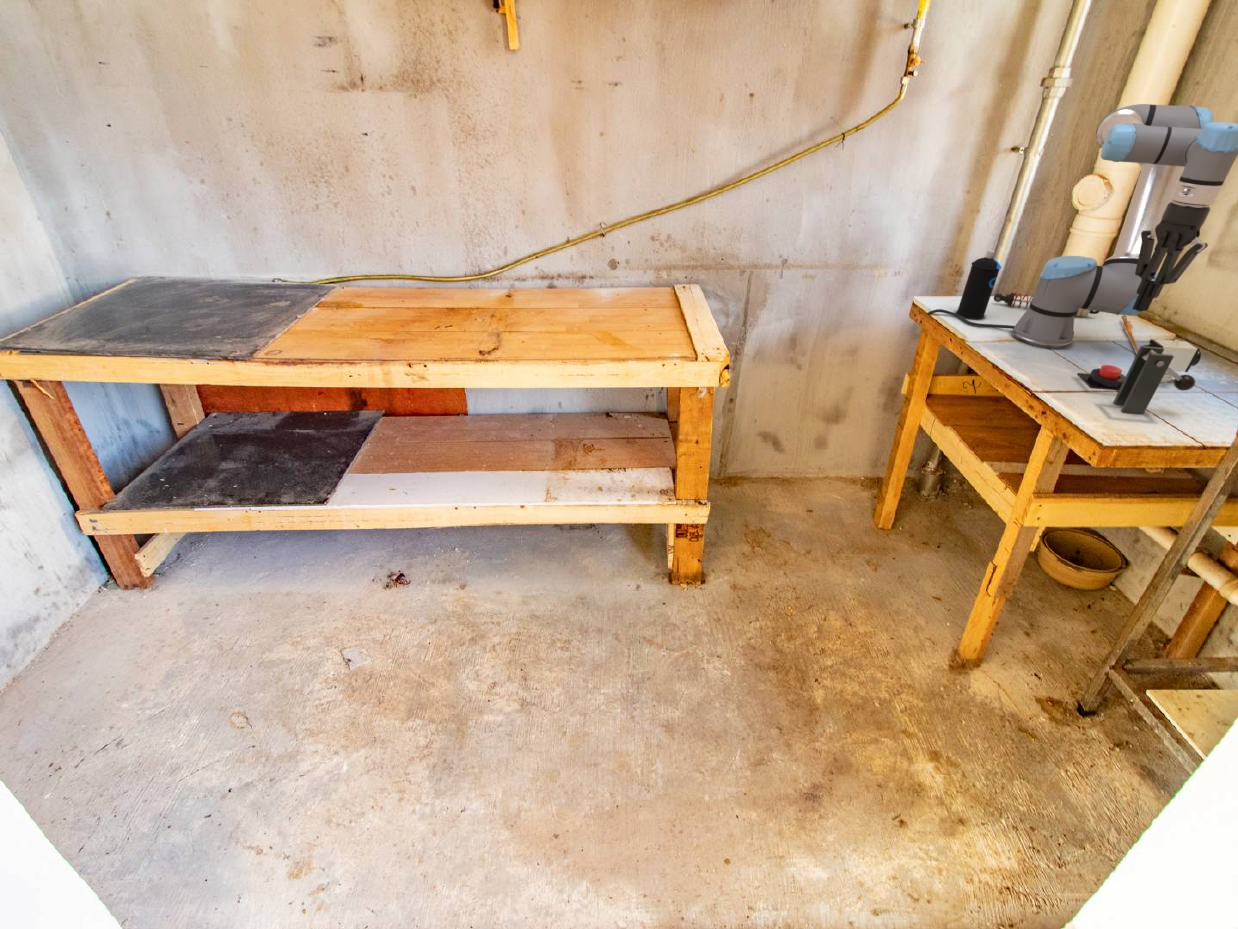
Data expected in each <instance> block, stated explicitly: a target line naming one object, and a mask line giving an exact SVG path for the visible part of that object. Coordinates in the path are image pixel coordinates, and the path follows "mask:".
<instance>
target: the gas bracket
mask: <svg viewBox="0 0 1238 929" xmlns="http://www.w3.org/2000/svg"><path fill="white" fill-rule="evenodd" d="M1138 349H1139V351H1138V353H1137V355H1136V354H1135V357H1134V359H1133V361H1132V363H1131V365H1130V367H1129V369H1128V371H1127V373H1126V375H1125V379H1124V381H1123V383H1122V385H1121V387H1120V389H1119V391H1118V390H1117V394H1116V396H1115V397H1114V400H1113V402H1112V404H1113V405H1114V406H1121V407H1122V408H1121V409H1120V412H1121V413H1122V414H1130V415H1141V416H1143V415H1145V412H1146V410H1147V408H1148V406H1149V405H1150V403H1151V400H1152V399H1153V397H1154V395H1155V393H1156V391H1157V390H1158V387H1159V385H1160V384H1161V383H1162V382H1161V380H1162V378H1163V376H1164V374H1165V372H1166V370H1167V369H1168V367H1169V365H1170V363H1171V361H1172V359H1173V357H1174V356H1172V355H1168V354H1162V353H1163V351H1164V349H1163V348H1161V347H1148V346H1144V345H1140V347H1139V348H1138ZM1151 349H1152V350H1153V351H1155V352H1156V353H1157V354H1155V353H1150V354H1149V356H1148V358H1147V360H1146V361H1145V360H1144V359H1143V358H1142V357H1143V356H1144V355H1145V354H1146V353H1148V352H1149V351H1150V350H1151Z"/></svg>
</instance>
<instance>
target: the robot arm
mask: <svg viewBox="0 0 1238 929" xmlns="http://www.w3.org/2000/svg"><path fill="white" fill-rule="evenodd" d="M1095 139H1096V141H1097V144H1098V145H1099V146H1100V147H1101V150H1100V159H1102V160H1103V161H1109V162H1110V161H1111V162H1114V163H1120V162H1121V163H1133V164H1138V165H1139V166H1140V167H1141V169H1140V173H1139V177H1138V180H1137V182H1136V186H1135V189H1134V191H1133V193H1132V194H1133V195H1132V197H1131V200H1130V203H1129V207H1128V210H1127V213H1126V215H1125V219H1124V222H1123V225H1122V228H1121V231H1120V234H1119V237H1118V240H1117V243H1116V245H1115V249H1114V252H1113V254H1112V256H1110V257H1108V258H1106V259H1105V260H1104V262H1103V264H1102V265H1098V261H1097V259H1095V258H1092V257H1086V256H1080V255H1063V256H1057V257H1053V258H1051V259H1049V260H1048V261H1047V262H1046V263H1045V265H1044V267H1043V270H1042V271H1041V273H1040V274H1039V280H1038V283H1037V285H1036V287H1035V290H1034V293H1033V294H1032V295H1033V297H1032V298H1031V300H1030V301H1031V303H1029V305H1028V307H1027V310H1026V311H1025V312H1024V313H1023V315H1022V316H1021V317H1020V318H1019V319H1018V321H1017V322H1016V324H1015V325H1009V324H993V323H979V322H974V321H970V320H969V319H967V318H964V317H963V316H961V315H959V314H956V312H953V311H950V310H946V309H942V308H938V309H933V310H930V311H929V312H927V315H933V314H935V313H943V314H947V315H950V316H953V317H956V318H958V319H960V320H961V321H962V322H964V323H965V324H967V325H970V326H973V327H981V328H995V329H996V328H997V329H1011V330H1012V331H1011V336H1013V337H1014V338H1015V339H1016V340H1018V341H1020V342H1022V343H1024V344H1027V345H1030V346H1035V347H1039V348H1043V349H1044V348H1045V349H1054V350H1055V349H1066V348H1068V347H1070V346H1071V344H1072V342H1073V339H1074V335H1075V331H1074V328H1075V326H1074V324H1075V317H1076V316H1075V314H1076V312H1077V310H1078V308H1081V309H1087V310H1093V311H1100V312H1101V313H1107V314H1113V315H1116V316H1123V315H1125V316H1129V317H1131V316H1132V317H1133V316H1137V315H1139V314H1140V313H1142V312H1145V311H1148V310H1149V308H1150V306H1151V304H1152V302H1153V300H1154V299H1157V298H1159V296H1160V294H1161V292H1162V290H1163V288H1164V286H1165V285H1171V284H1175V283H1177V282H1178V280H1179V279H1180V278H1181V276H1182V275H1183V274H1184V273H1185V271H1187V269H1188V267H1189V266H1190V265H1191V264H1192V262H1193V261H1194V260H1195V258H1196V257H1197V256H1198V255H1199V253H1201V252H1202V251H1204V250H1206V248H1208V247H1209V245H1208V243H1207V242H1203V241H1202V239H1201V238H1200V236H1201V228H1202V226H1203V225H1204V223H1205V222H1206V220H1207V218H1208V215H1209V214H1210V211H1211V206H1212V205H1214V204H1215V202H1216V199H1218V198H1217V197H1218V196H1219V193H1220V191H1221V189H1222V187H1223V185H1224V183H1225V181H1226V179H1227V177H1228V175H1229V173H1230V171H1231V169H1232V166H1233V165H1234V163H1235V161H1236V159H1237V157H1238V123H1236V122H1235V123H1234V122H1223V121H1222V122H1221V121H1220V122H1219V121H1216V122H1215V121H1214V115H1213V112H1212V110H1210V108H1208V107H1201V106H1196V105H1170V104H1169V105H1168V104H1150V103H1139V104H1131V105H1127V106H1123V107H1119V108H1117V109H1115V110H1113V111H1111V112H1109V113H1108V114H1106V116H1104V117H1103V118H1102V120H1100V122H1099V123H1098V125H1097V128H1096V130H1095ZM1188 245H1189V246H1188ZM1187 246H1188V248H1189V249H1187V250H1186V251H1185V253H1184V254H1183V255H1182V256H1181V257H1180V255H1181V254H1182V253H1183V251H1184V249H1185V247H1187ZM1179 257H1180V259H1179ZM1178 259H1179V260H1178ZM1159 268H1160V269H1159ZM1100 312H1099V313H1100Z"/></svg>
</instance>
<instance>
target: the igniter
mask: <svg viewBox="0 0 1238 929" xmlns="http://www.w3.org/2000/svg"><path fill="white" fill-rule="evenodd" d="M1099 369H1100V370H1099V372H1098V374H1099V375H1100V376H1102V377H1105V378H1109V379H1119V377H1120V375H1121V374H1122V372H1123V370H1122V369H1121V368H1119V367H1117V366H1114V365H1109V364H1103V365H1101V366H1100V368H1099Z"/></svg>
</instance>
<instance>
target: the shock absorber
mask: <svg viewBox="0 0 1238 929" xmlns="http://www.w3.org/2000/svg"><path fill="white" fill-rule="evenodd" d="M1033 295H1034V294H1032V295H1031V296H1030V298H1029V294H1027V293H1026V294H1024V296H1023V297H1022V293H1017V292H1011V293H1010V294H1006V295H1003V294H1002V293H996V294H994V295H993V301H994V302H995V303H1000V302H1004V303H1005V304H1006V305H1007V307H1013V308H1014V307H1015V305H1016V302H1019V303H1018V308H1021V305H1022V304H1023V303H1025V308H1024V309H1028V307H1029V304H1030V303H1031V300H1032V298H1033ZM1018 297H1019V298H1018ZM1025 298H1026V299H1025ZM1099 313H1100V311H1093V310H1087V309H1081V308H1078V310H1077V312H1076V314H1075V317H1082V318H1087V317H1088V316H1089V315H1090V314H1091V315H1097V314H1099Z"/></svg>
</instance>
